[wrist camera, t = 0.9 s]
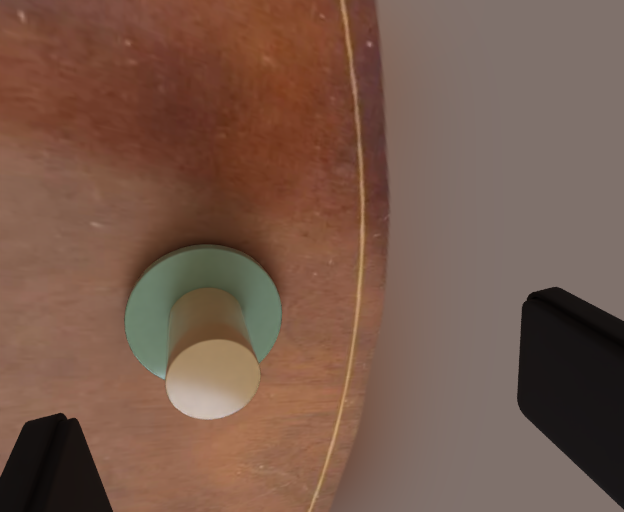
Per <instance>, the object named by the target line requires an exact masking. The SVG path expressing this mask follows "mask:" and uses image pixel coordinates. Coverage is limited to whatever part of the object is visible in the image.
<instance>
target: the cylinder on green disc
mask: <svg viewBox="0 0 624 512" xmlns="http://www.w3.org/2000/svg"><path fill="white" fill-rule="evenodd" d="M281 321H282V305H281V300H280V296H279V293H278V291H277V288H276V286H275V284H274V282H273V280H272V278H271V277H270V275H269V274H268V273H267V271H266V270H265V269H264V268H263V267H262V266H261V265H260V264H259V263H258V262H257V261H256V260H254V259H253V258H252V257H250V256H248V255H247V254H245V253H243V252H241V251H238V250H236V249H233V248H230V247H226V246H221V245H213V244H202V245H193V246H188V247H184V248H180V249H178V250H175V251H172V252H170V253H168V254H166V255H164V256H162V257H161V258H159V259H158V260H156V261H155V262H154V263H152V264H151V265H150V266H149V267H148V268H147V269H146V270H145V271H144V272H143V273H142V274H141V275H140V277H139V278H138V279H137V281H136V283H135V284H134V286H133V288H132V290H131V292H130V295H129V298H128V301H127V305H126V310H125V318H124V324H125V333H126V338H127V341H128V343H129V346H130V348H131V350H132V352H133V353H134V355H135V356H136V358H137V359H138V360H139V362H140V363H141V364H142V365H143V366H144V367H145V368H146V369H147V370H149V371H150V372H152V373H153V374H154V375H156V376H158V377H160V378H161V379H163V380H165V388H166V393H167V396H168V398H169V400H170V401H171V403H172V404H173V405H174V406H175V407H176V408H177V409H178V410H179V411H180V412H182V413H184V414H185V415H187V416H190V417H193V418H197V419H204V420H211V419H219V418H223V417H226V416H229V415H231V414H234V413H235V412H237V411H239V410H240V409H242V408H243V407H244V406H245V405H247V404H248V403H249V401H250V400H251V399H252V398H253V396H254V395H255V393H256V391H257V389H258V386H259V383H260V377H261V372H260V366H259V363H260V362H261V361H262V360H263V359H264V358H265V357H266V355H267V354H268V353H269V351H270V350H271V348H272V347H273V345H274V343H275V341H276V339H277V336H278V334H279V331H280V326H281Z"/></svg>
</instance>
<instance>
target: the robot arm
mask: <svg viewBox="0 0 624 512" xmlns="http://www.w3.org/2000/svg"><path fill="white" fill-rule="evenodd" d="M517 401H518V405H519V407H520V410H521V411H522V413H523V414H524V415H525V417H527V419H529V420H530V421H531V422H532V423H533V424H534V425H535V426H536V427H537V428H538V429H539V430H540V431H541V432H542V433H543V434H544V435H545V436H546V437H548V438H549V439H550V440H551V441H552V442H553V443H554V444H555V445H556V446H557V447H558V448H559V449H560V450H561V451H562V452H564V453H565V454H566V455H567V456H568V457H569V458H570V459H571V460H572V461H573V462H574V463H575V464H576V465H577V466H578V467H579V468H580V469H581V470H583V471H584V472H585V473H586V474H587V475H588V476H589V477H590V478H591V479H592V480H593V481H594V482H595V483H596V484H597V485H598V486H599V487H600V488H602V489H603V490H604V491H605V492H606V493H607V494H608V495H609V496H610V497H611V498H612V499H613V500H614V501H615V502H617V504H618V505H620V506H621V507H622V508H623V509H624V321H622V320H620V319H619V318H617V317H615V316H613V315H611V314H609V313H607V312H605V311H603V310H601V309H599V308H598V307H596V306H594V305H592V304H590V303H588V302H586V301H584V300H582V299H580V298H578V297H576V296H575V295H572V294H571V293H569V292H567V291H565V290H563V289H561V288H558V287H552V288H548V289H544V290H540V291H537V292H532V293H531V294H529V296H528V298H527V301H525V302H524V303H523V306H522V319H521V337H520V356H519V374H518V393H517ZM0 512H113V510H112V508H111V505H110V503H109V500H108V497H107V495H106V492H105V489H104V487H103V484H102V482H101V479H100V476H99V474H98V471H97V468H96V466H95V463H94V461H93V458H92V455H91V453H90V450H89V447H88V445H87V442H86V440H85V437H84V434H83V432H82V429H81V426H80V424H79V422H78V420H77V419H76V418H71V419H68V420H67V418H66V416H65V415H64V414H63V413H58V414H54V415H51V416H47V417H43V418H39V419H35V420H31V421H28V422H26V423H25V425H24V426H23V428H22V430H21V432H20V435H19V437H18V439H17V441H16V443H15V446H14V448H13V450H12V452H11V455H10V457H9V459H8V461H7V463H6V466H5V468H4V470H3V472H2V475H1V477H0Z"/></svg>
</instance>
